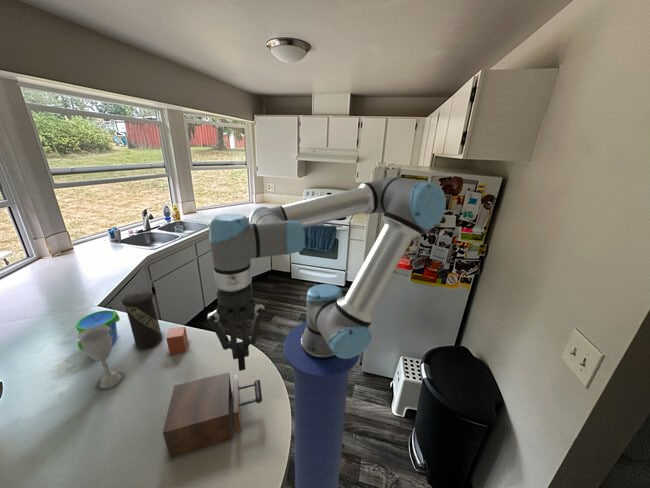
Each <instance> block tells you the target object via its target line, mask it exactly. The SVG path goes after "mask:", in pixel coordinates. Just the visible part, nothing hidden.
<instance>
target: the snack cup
mask: <svg viewBox="0 0 650 488" xmlns="http://www.w3.org/2000/svg"><path fill="white" fill-rule="evenodd" d="M120 320H121V319H120V315H119V314H118V312H117V311H115V310H110V309H109V310H108V309H105V310H99V311H95V312H93V313H90V314H87V315H85V316H84V317H82V318H80V319H79V320H78V321H77V322H76V324H75V328H76V330H77V331H78V334H77V336H78V335H79V334H80V333H81V332H83V331H84V330H86V329H88V328H91V327H94V326H99V325H107V326H109V327H110V331H109V334H110V337H111V340H112V344H113V343H114V342H115V341H116V340H117V339H118V328H117V322H120ZM77 346H78V348H79V350H81V351H84V349H83V347H82V344H81V342H80V341H78V340H77Z"/></svg>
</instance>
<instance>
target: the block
mask: <svg viewBox="0 0 650 488" xmlns="http://www.w3.org/2000/svg"><path fill="white" fill-rule="evenodd" d="M165 340H166V344H167V348H168V352H169V355H175V354H180V353H185V352H187V349H188V346H189V345H188V344H189V338H188V333H187V328H186V326H185V325H184V326H179V327H174V328H169V330H168V332H167V334H166V338H165Z"/></svg>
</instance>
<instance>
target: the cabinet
mask: <svg viewBox="0 0 650 488" xmlns="http://www.w3.org/2000/svg"><path fill="white" fill-rule="evenodd" d="M173 385H174V386H173V390H172V393H171V398H170V402H169V405H168V410H167V414H166V418H165V423H164V427H163V430H162V435H163V438H164V442H165V446H166V450H167V453H168V456H169V458H174V457H177V456H180V455H183V454H186V453H189V452H192V451H196V450H199V449H202V448H207V447H209V446H212V445H215V444H219V443H222V442H225V441H227V440H231V439H233V390H232V383H231V375H230V372H229V371H228V372H224V373H220V374H216V375H212V376H207V377H203V378H199V379H194V380H190V381H186V382H182V383H177V384H173ZM229 387H230V395H231V407H230V417H229Z"/></svg>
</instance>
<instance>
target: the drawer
mask: <svg viewBox="0 0 650 488" xmlns="http://www.w3.org/2000/svg"><path fill="white" fill-rule="evenodd" d="M232 384H233V386H232V389H233V390H232V414H233V421H234V427H235V432H236V433H238V432H241V431H242V418H241V417H242V416H241V407H242V406H246V405H251V404H253V403H256V404H261V403H262V402H263V395H262V386H261V380H260V379H256V380H254V381H253V382H252V383H251V382H250V383H247V384H244V385H240V381H239V375H238V374H234V375H233V376H232ZM252 387H254V396H255V398H252V399H249V400H245V401H241V390H243V389H248V388H252ZM230 407H231V395H230V387H229V417H230Z"/></svg>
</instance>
